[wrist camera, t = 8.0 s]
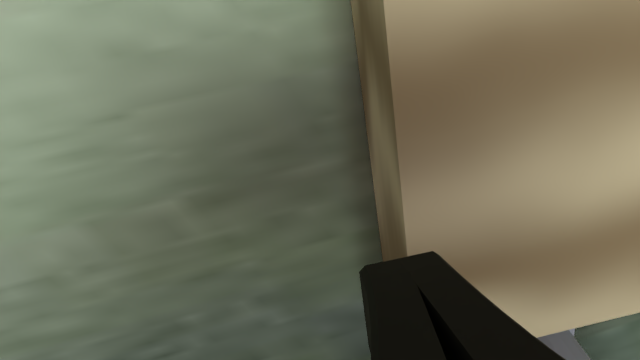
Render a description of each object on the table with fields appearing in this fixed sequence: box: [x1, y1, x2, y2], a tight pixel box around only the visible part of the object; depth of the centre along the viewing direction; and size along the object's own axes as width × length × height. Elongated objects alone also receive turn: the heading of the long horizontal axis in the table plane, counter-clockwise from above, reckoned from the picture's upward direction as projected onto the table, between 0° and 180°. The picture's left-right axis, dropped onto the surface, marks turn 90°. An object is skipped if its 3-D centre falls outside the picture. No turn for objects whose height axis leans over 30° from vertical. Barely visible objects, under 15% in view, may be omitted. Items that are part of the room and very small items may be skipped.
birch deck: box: [351, 0, 640, 338], centre depth 16 cm, size 20×12×4 cm, turn 9°
